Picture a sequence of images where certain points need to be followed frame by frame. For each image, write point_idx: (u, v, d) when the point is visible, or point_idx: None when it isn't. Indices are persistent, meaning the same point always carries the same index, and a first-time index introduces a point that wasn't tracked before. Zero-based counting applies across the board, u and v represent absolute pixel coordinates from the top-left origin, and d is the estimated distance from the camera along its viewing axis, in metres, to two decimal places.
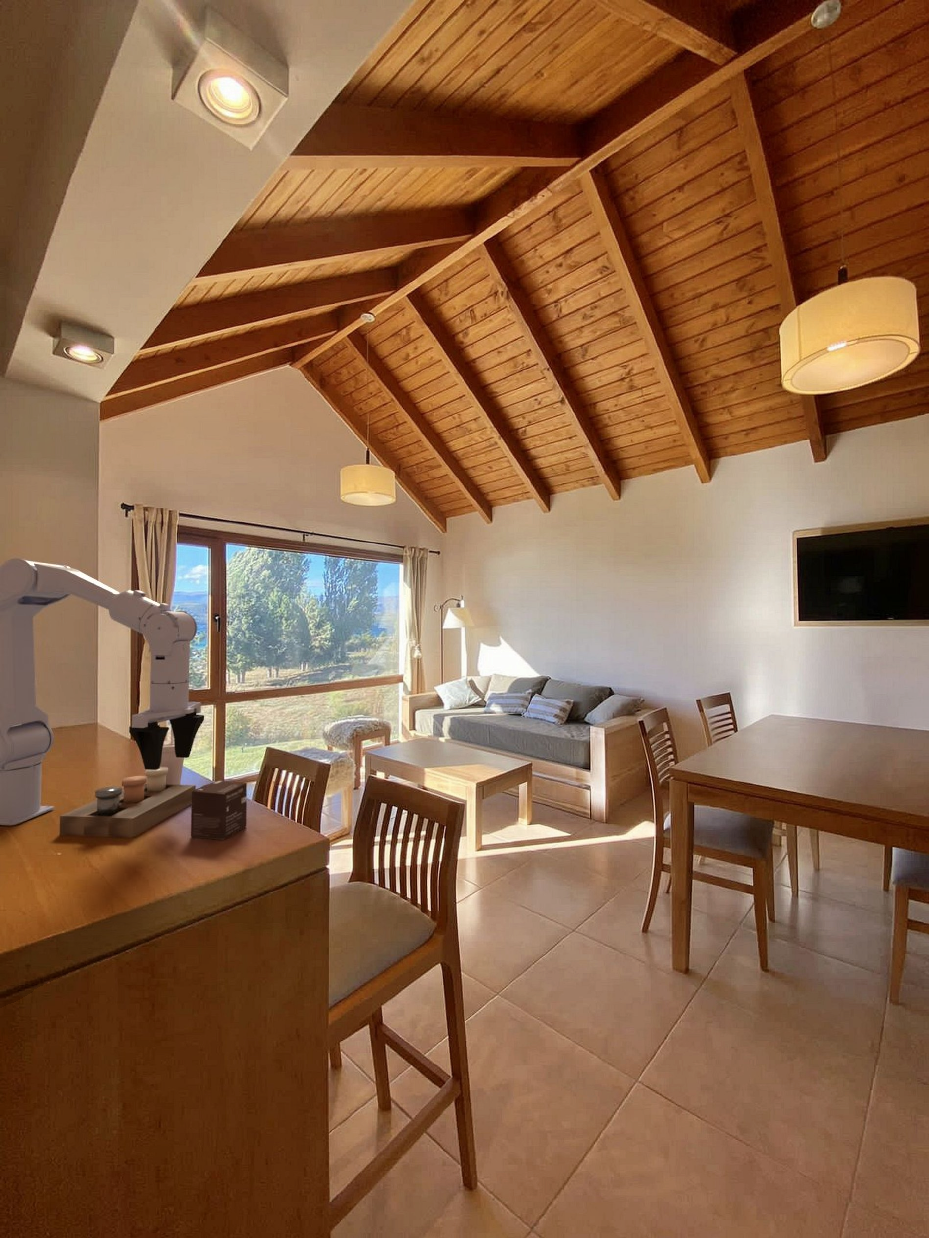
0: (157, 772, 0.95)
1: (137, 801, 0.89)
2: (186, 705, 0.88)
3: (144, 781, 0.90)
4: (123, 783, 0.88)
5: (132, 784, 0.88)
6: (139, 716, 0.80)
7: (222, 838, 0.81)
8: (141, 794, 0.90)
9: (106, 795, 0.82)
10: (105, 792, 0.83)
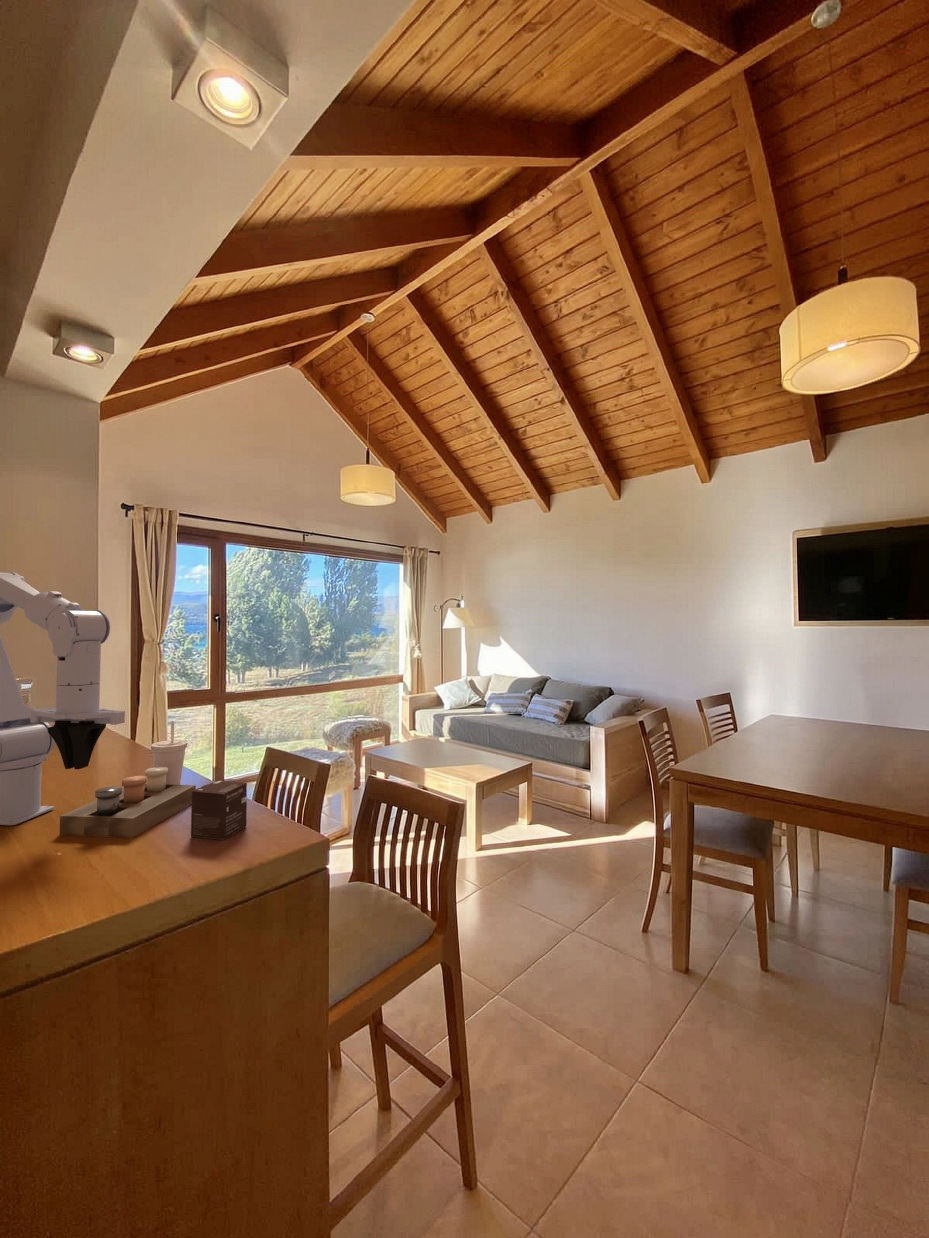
0: (157, 772, 0.95)
1: (137, 801, 0.89)
2: (66, 710, 0.82)
3: (144, 781, 0.90)
4: (123, 783, 0.88)
5: (132, 784, 0.88)
6: None
7: (222, 838, 0.81)
8: (141, 794, 0.90)
9: (106, 795, 0.82)
10: (105, 792, 0.83)
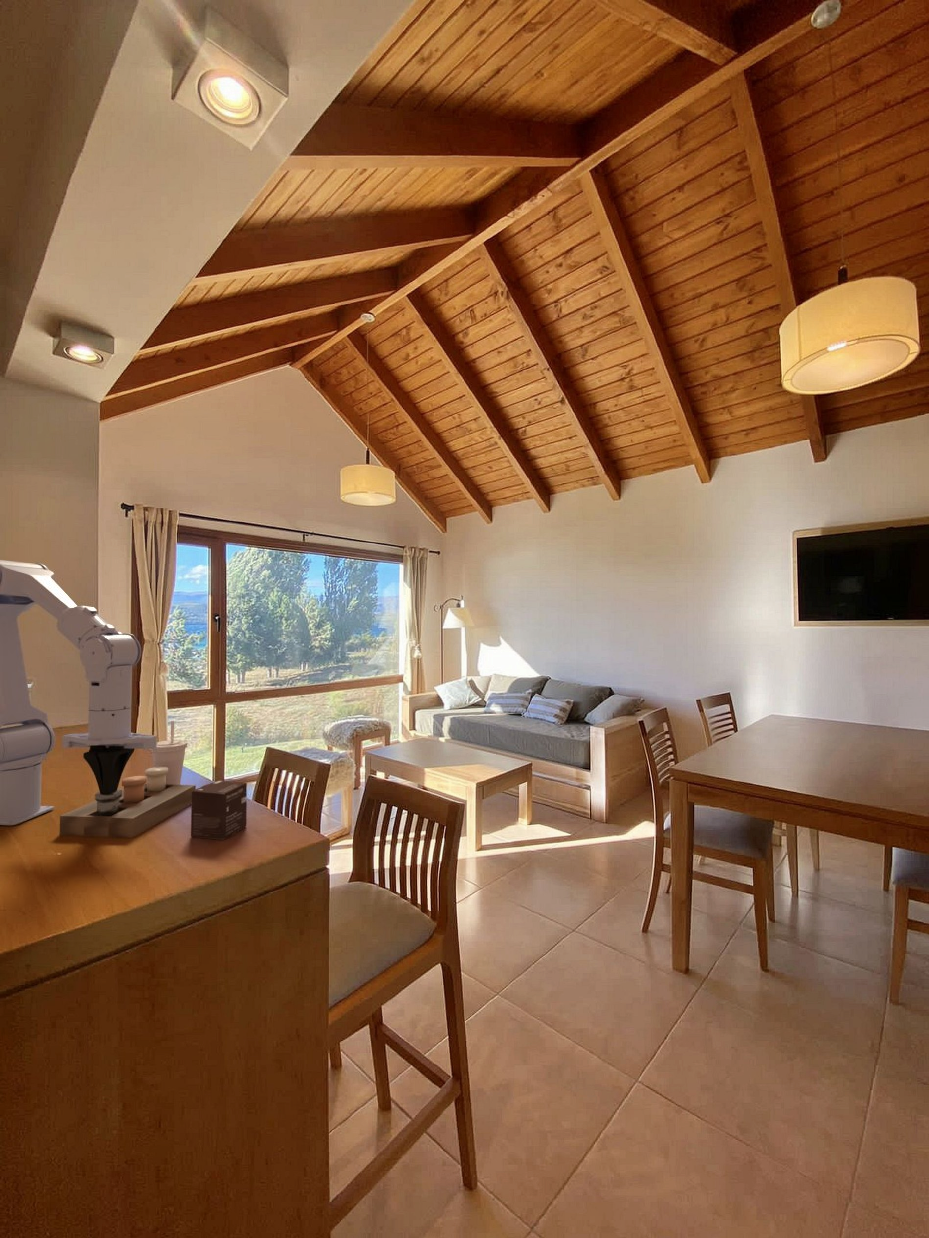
0: (157, 772, 0.95)
1: (137, 801, 0.89)
2: (99, 736, 0.81)
3: (144, 781, 0.90)
4: (123, 783, 0.88)
5: (132, 784, 0.88)
6: None
7: (222, 838, 0.81)
8: (141, 794, 0.90)
9: (106, 798, 0.82)
10: (105, 795, 0.83)
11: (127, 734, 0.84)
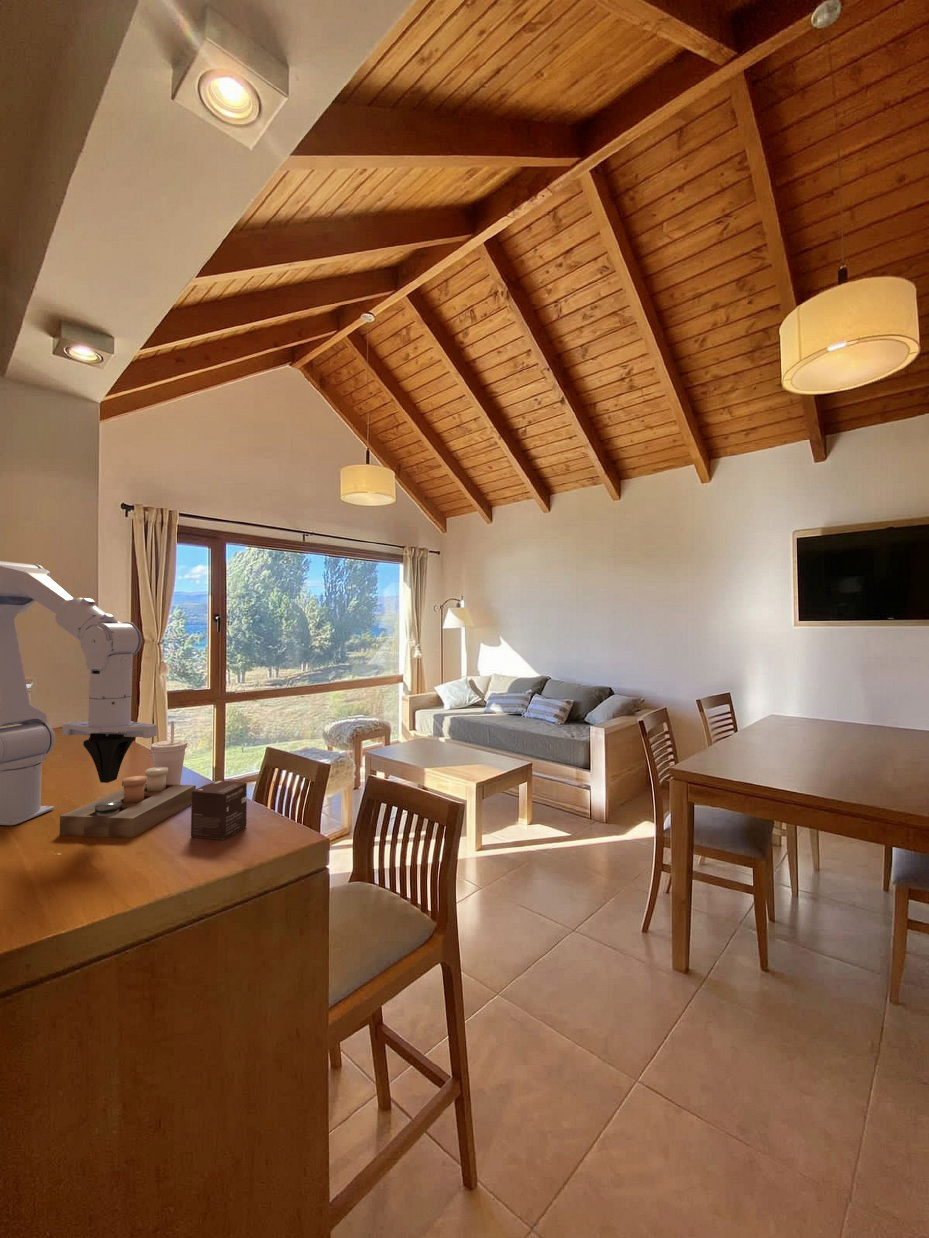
0: (157, 772, 0.95)
1: (137, 801, 0.89)
2: (99, 724, 0.81)
3: (144, 781, 0.90)
4: (123, 783, 0.88)
5: (132, 784, 0.88)
6: (66, 723, 0.84)
7: (222, 838, 0.81)
8: (141, 794, 0.90)
9: (106, 809, 0.82)
10: (105, 806, 0.83)
11: (127, 722, 0.84)
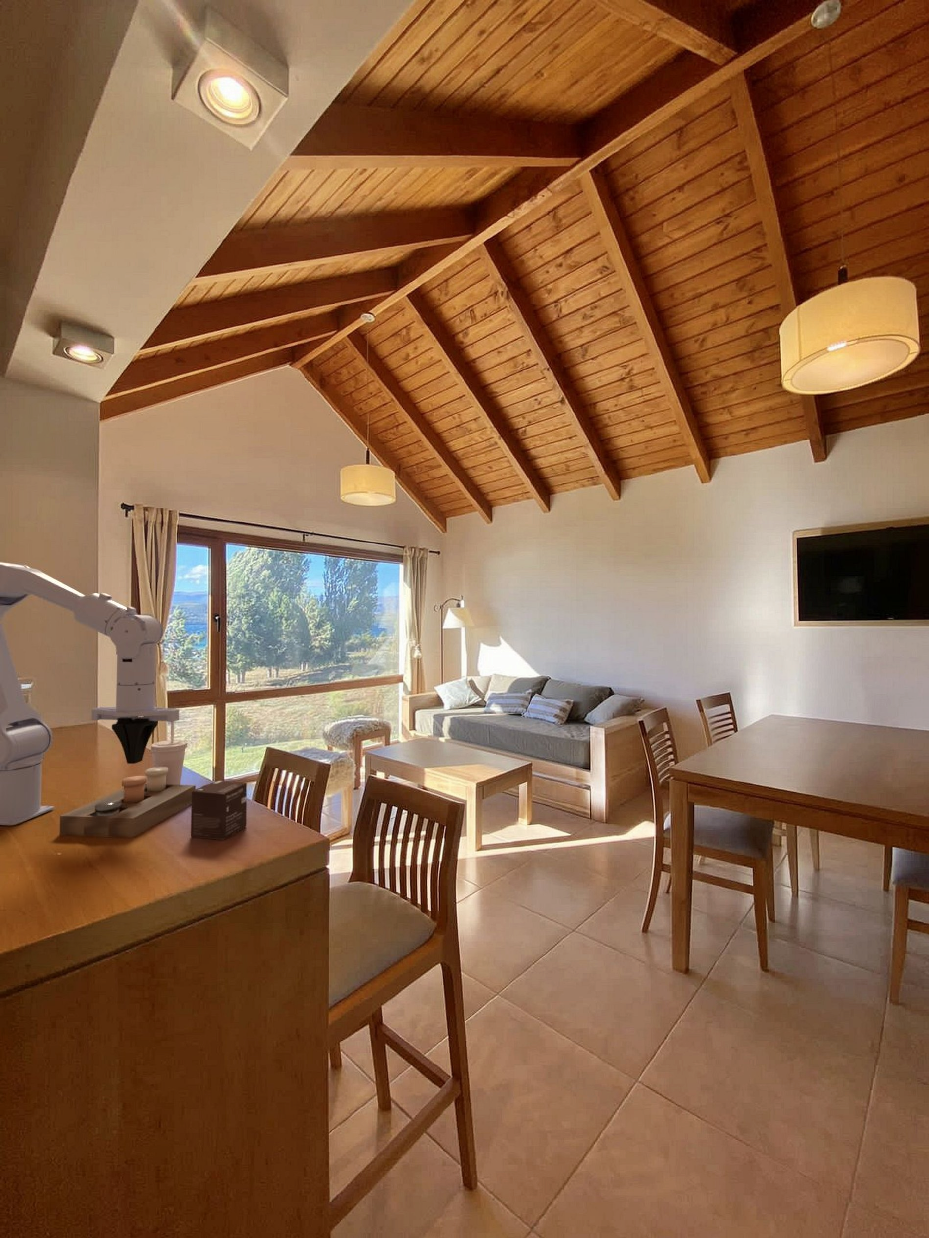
0: (157, 772, 0.95)
1: (137, 801, 0.89)
2: (126, 708, 0.87)
3: (144, 781, 0.90)
4: (123, 783, 0.88)
5: (132, 784, 0.88)
6: (94, 709, 0.90)
7: (222, 838, 0.81)
8: (141, 794, 0.90)
9: (106, 809, 0.82)
10: (105, 806, 0.83)
11: (152, 708, 0.90)
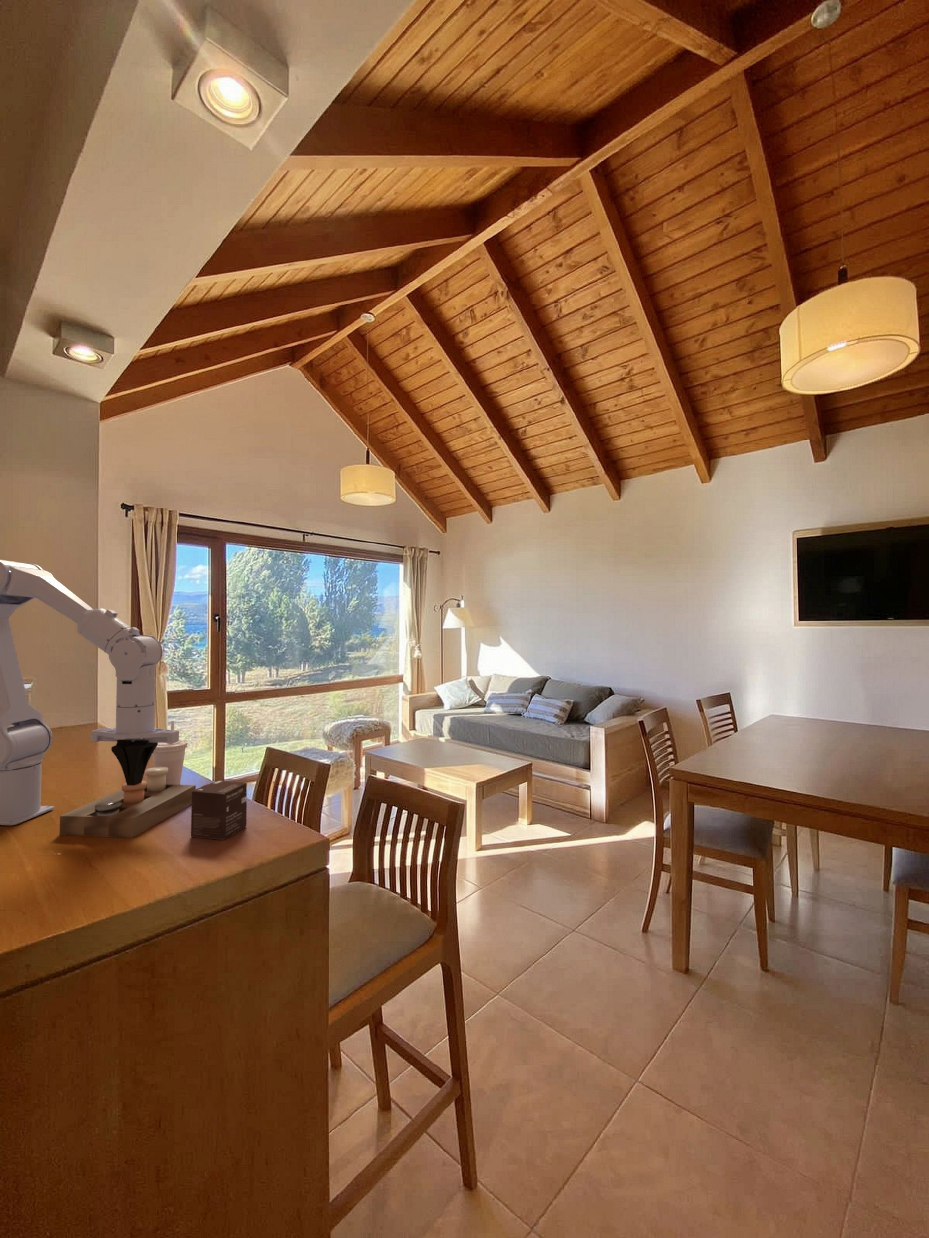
0: (157, 772, 0.95)
1: None
2: (126, 731, 0.87)
3: (144, 786, 0.90)
4: (123, 788, 0.88)
5: (132, 789, 0.88)
6: None
7: (222, 838, 0.81)
8: (141, 799, 0.90)
9: (106, 809, 0.82)
10: (105, 806, 0.83)
11: (151, 729, 0.90)
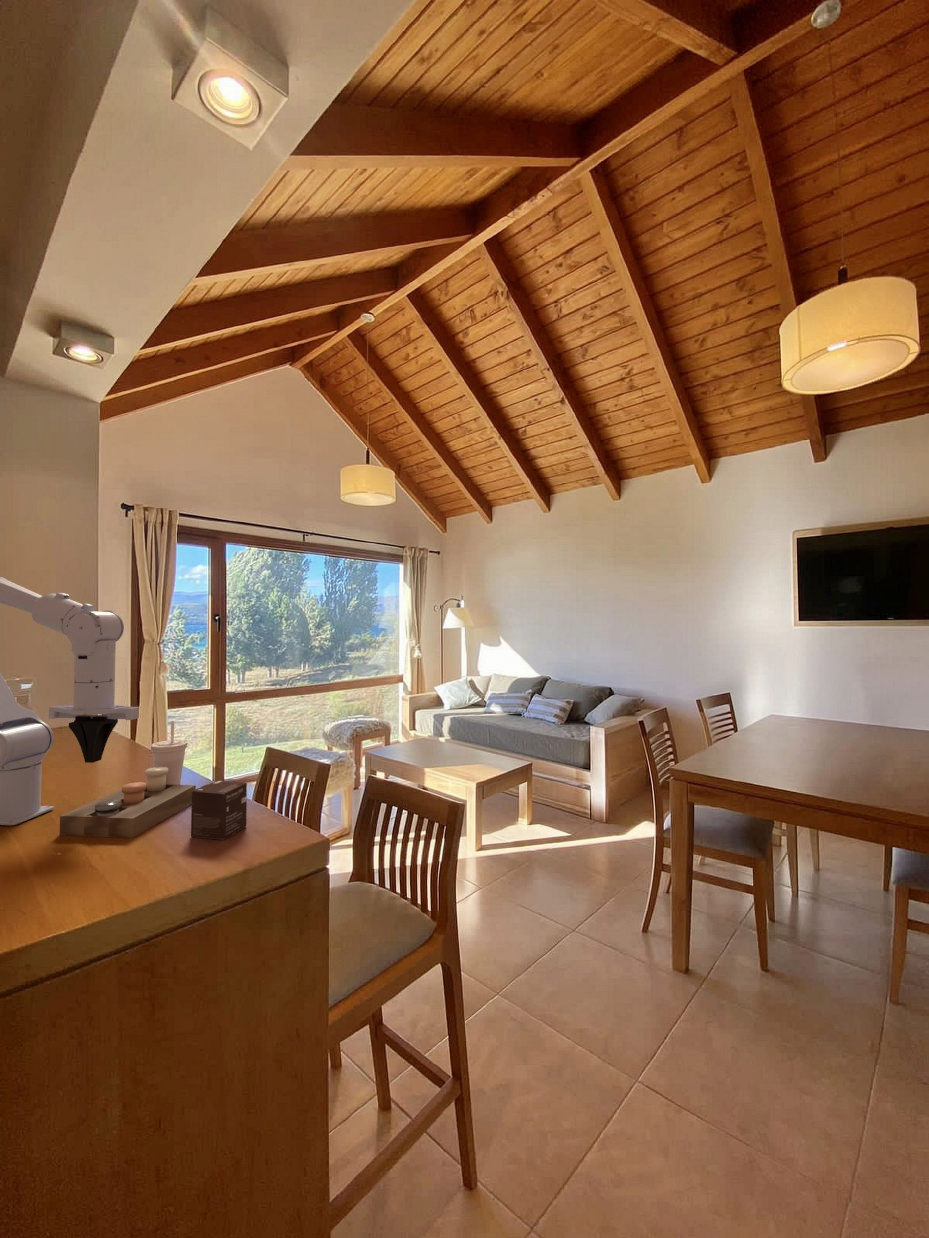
0: (157, 772, 0.95)
1: None
2: (83, 706, 0.86)
3: (144, 787, 0.90)
4: (123, 790, 0.88)
5: (132, 791, 0.88)
6: (52, 707, 0.89)
7: (222, 838, 0.81)
8: None
9: (106, 809, 0.82)
10: (105, 806, 0.83)
11: (110, 705, 0.89)
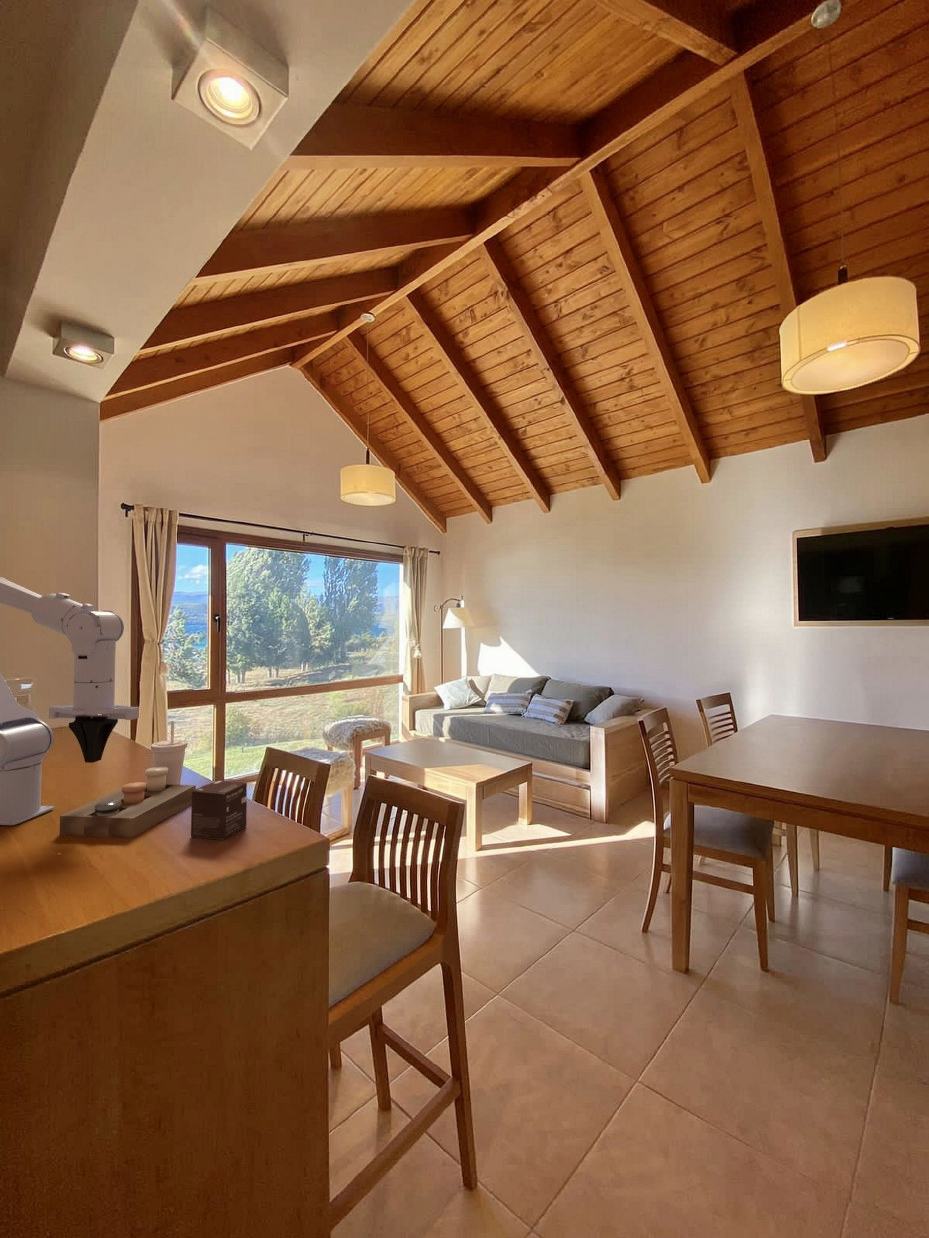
0: (157, 772, 0.95)
1: None
2: (83, 706, 0.86)
3: (144, 787, 0.90)
4: (123, 790, 0.88)
5: (132, 791, 0.88)
6: (52, 707, 0.89)
7: (222, 838, 0.81)
8: None
9: (106, 809, 0.82)
10: (105, 806, 0.83)
11: (110, 705, 0.89)
